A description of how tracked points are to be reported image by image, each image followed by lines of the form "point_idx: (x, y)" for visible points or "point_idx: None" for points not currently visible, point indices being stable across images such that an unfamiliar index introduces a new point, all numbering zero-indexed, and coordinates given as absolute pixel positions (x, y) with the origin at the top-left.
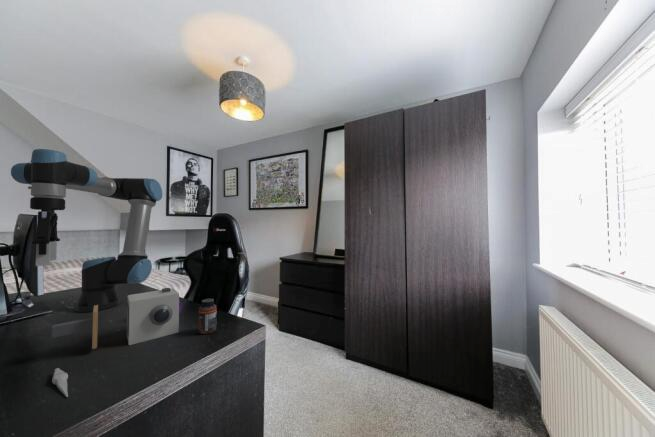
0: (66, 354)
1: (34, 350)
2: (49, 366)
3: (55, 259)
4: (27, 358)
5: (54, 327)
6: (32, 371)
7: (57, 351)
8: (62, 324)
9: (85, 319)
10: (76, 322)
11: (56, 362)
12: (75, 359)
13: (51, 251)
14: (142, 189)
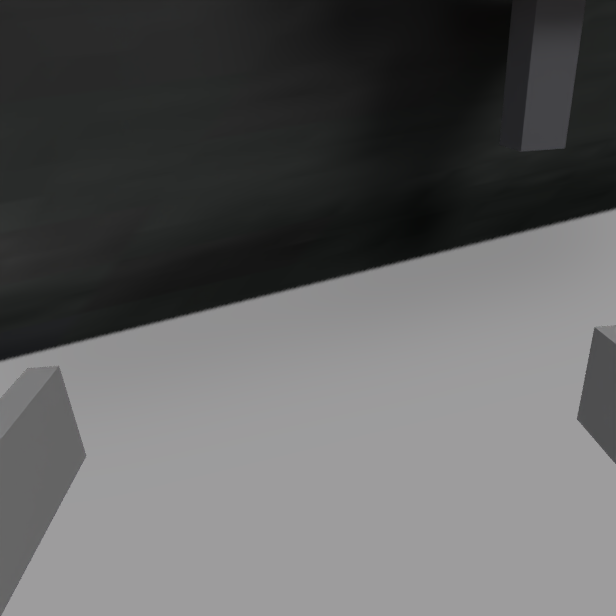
0: (470, 91)
1: (326, 211)
2: None
3: (57, 376)
4: (401, 213)
5: (564, 139)
6: (549, 169)
7: (405, 130)
8: (552, 111)
9: (550, 6)
10: (576, 47)
11: None
12: None
13: (3, 500)
14: None
